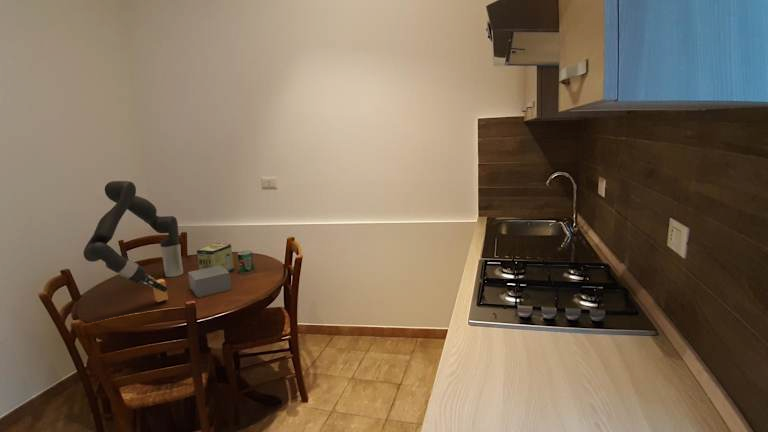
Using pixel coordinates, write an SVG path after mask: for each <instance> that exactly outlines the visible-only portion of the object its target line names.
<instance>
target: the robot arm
mask: <svg viewBox="0 0 768 432" xmlns="http://www.w3.org/2000/svg"><path fill="white" fill-rule="evenodd" d="M104 192H105V195H106V196H107V198H108V199H109V200H110V201H112V202H114V203H115V205H114V206H113V207H112V208H111V209H110V210H109V211H108V212H106V213H105V214H104V215H103V216H102V217H101V218H100V220H99V221H98V223H97V225H96V228H95V230H94V232H93V235H92V236H91V237H90V239H89V241H88V242H87V244H86V245H85V247H84V250H83V257H84V259H85V260H86V261H88V262H91V263H93V262H97V261H102V262H104V263H105V267H106V268H107V269H108V270H111V271H113V272H114V273H116V274H118V275H120V276H121V277H123V278H125V279H127V280H129V281H130V282H132V283H134V284H138V283H139V282H140V281H141V282H142V283H143V284H144V285H148V286H149V287H151V288H153V287H154V288H156V289H159V290H161V291H163V292H166V290H167V291H168V287H167V286H166V287H165V286H163V285H161V284H160V283H158V282H157V280H158V279H155V278H154V277H152V276H151V275H149V274H148V273H146V272H147V269H146V268H145V267H144V266H142V265H140V264H138V263H137V262H134V261H133V260H130V259H129V258H126V257H124V256H122V255H121V254H119V253H118V252H117V251H116V250H115V249H113V248H112V246H110V245H109V244H108V243H109V242H110V241H111V240H112V238H113V237H114V235H115V232H116V229H117V228H118V225H119V222H120V221H121V219H122V217H124V215H125V213H126V211H127V210H128V211H129V212H131V214H133V215H135V216H136V217H138V218H139V219H140V220H141V221H143V222H145V223H146V224H148V225H149V227H151V228H152V229H153V231H155V232H156V233H158V234H168V237H166V238H164V239H162V240H160V242H159V244H160V249H161V251H160V252H161V257H162V262H163V269H164V273H165V274H164V276H165V277H167V278H173V277H179V276H181V275H183V274H184V268H183V263H182V262H183V261H182V255H181V249H180V240H179V239H180V235H179V224H178V221H177V220H178V219H177V218H176V217H175V216H174V215H173V216H172V215H171V216H166V215H165V216H159V215H157V208H156V206H155V205H154V203H152V202H151V201H150V200H148V199H146V198H144V197H141V196H139V195H136V194H137V188H136V185H135V184H134V182H133V181H129V180H113V181H109V182H107V183H106V184H105V186H104ZM156 284H158V285H157V286H155V285H156Z"/></svg>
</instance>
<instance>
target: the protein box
mask: <svg viewBox="0 0 768 432" xmlns="http://www.w3.org/2000/svg"><path fill="white" fill-rule="evenodd" d="M196 255H197V261H198V263H197V264H198V268H199V269H198V270H200V269H205V268H210V267H215V266H219V265H221V266H222V267H223V268H225V269H226V270H227V271H228V272H229V273H232V272H234V271H235V267H234V257H233V250H232V244H230V243H217V242H216V243H214V244H211V245H209V246H205V247H203V248H200V249H197V250H196Z"/></svg>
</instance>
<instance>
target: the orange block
mask: <svg viewBox="0 0 768 432" xmlns="http://www.w3.org/2000/svg"><path fill="white" fill-rule="evenodd" d="M156 280H157V282H158V283H160V284H161V285H163V286H165V287H167V283H166V280H165V279H163V278H160V279H156ZM157 285H158V284H156V285H155V286H157ZM152 289H153V297H154V300H155V301H156V302H157V303H159V302H162V301H166V300H169V296H168V289H167V290H166V292H163V291H161V290H159V289H156V288H154V287H152Z"/></svg>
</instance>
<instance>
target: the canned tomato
mask: <svg viewBox="0 0 768 432" xmlns="http://www.w3.org/2000/svg"><path fill="white" fill-rule="evenodd" d="M237 260H238V270H239V273H240V274H243V275H244V274H251V273H254V272H255V267H254V266H255V265H254V257H253V251H252V250H242V251H241V250H240V251H238V252H237Z"/></svg>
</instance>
